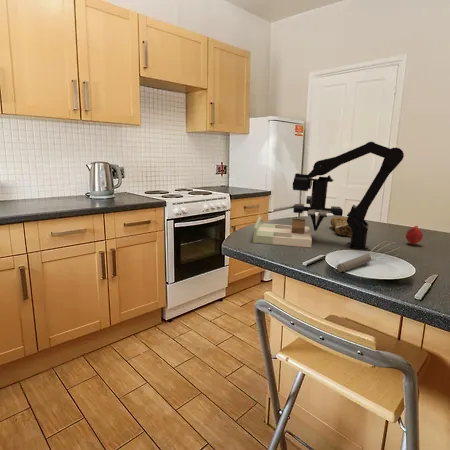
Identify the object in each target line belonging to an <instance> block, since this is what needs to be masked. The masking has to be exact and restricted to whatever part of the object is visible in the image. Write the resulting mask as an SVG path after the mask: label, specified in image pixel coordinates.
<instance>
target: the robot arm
mask: <svg viewBox="0 0 450 450" xmlns="http://www.w3.org/2000/svg"><path fill="white" fill-rule="evenodd" d="M368 154H372V155H375V156H378V157H381V158H383V160H382V163H381V166H380V169H379V170H378V172H377V173H376V175H375V177H374V179H373V181H372V182H371V183H370V185H369V187H368V189H366V192H365V194H363V195H364V196H363V197H362V199H361V200H360V201H359V203H358V204H357V205H356V204H352V206H351V208H350V211H349V212H348V213H347V215H346V217H347V223H348V225H349V226H350V227H351V229H352V232H351V237H350V240H349V241H350V242H349V241H348V242H347V244H348V247H349V248H350V249H360V250H361V249H363V250H369V247H368V246H367V240H368V231H369V227H370V225H369V223H368V222H367V220H365V218H366V216H367V213H368V211H369V209H370V208H369V207H370V206H371V204H372V203H373V201H374V200H375V198H376V197H377V195H378V193H379V192H380V190H381V189H382V187H383V185H384V183H385V182H386V180H387V179H388V177H389V175H390V174H392V172H393V171H394V170H395V169H396V168H397V167H398V166H399V164H400V163H401V162H402V161H403V159H404V157H405V154H404V151H403V149H401V148H400V147H392V148H390V147H386V146H383V145H381V144H378V143H376V142H375V141H368V142H366V143H365V144H363V145H360V146H357V147H355V148H353V149H351V150H348V151H347V152H343V153H342V154H338V155H337V156H334V157H333V156H332V157H328V158H324V159H320V160H317V161H316V162H314V164H313V166H312V167H313V168H312V170H311V171H310V172H308V174H305V173H304V174H302V173H297V172H296V173H295V174H294V178H293V181H292V190H293V191H299V192H308V191H309V190H311V195H307V196H306V201H305V204H306V205H309V206H305V205H304V203H303V204H301V203H295V204H293V213H295V214H302V213H304V212H307V216H308V217H310V219H311V221H312V226H313V231H314V232H317V230H318V229H319V226H320V225H321V223H322V221H323V220H324V218H327V217H328V215H327V214H332V215H333V217H343V211H344V210H343V209H342V207H341V206H335V205H334V206H332V205H331V206H330V207H329V208H328V207H326V201H327V194H328V185H329V183H332V182H334V179H333V178H332V176H331V175H327V174H329V173H330V172H331V171H333V170H335V169H336V168H338V167H339V166H342V165H344V164H346V163H349V162H351V161H354V160H356V159H359V158H361V157H363V156H365V155H368ZM325 175H327V176H325ZM315 177H318V178H315ZM316 213H317V215H316ZM316 216H317V217H316Z"/></svg>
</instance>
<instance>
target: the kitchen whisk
mask: <svg viewBox="0 0 450 450" xmlns="http://www.w3.org/2000/svg"><path fill="white" fill-rule="evenodd" d="M385 242H387V240H385V241H382V242H380V243H378V245H376V246H375V247H373V248H372V251H373V250H375V249H376V248H377V247H378V246H381V245H382V244H384V243H385ZM389 242H390V243H387V244H385V245H384V246H382V247H380V248H379V249H378V250H376V251H375V252H373V253H372V252H368V253H365V254H362V255H360V256H357V257H354V258H352V259H349V260H346V261H343V262H341V263H338V264H337V265H336V266H335V267H334V271H335V272H336V273H337V274H338V273H342V271H344V272H347V271H349V270H351V269H355V268H357V267H359V266H362V265H364V264H365V265H366V264H367V263H371V262H375V260H374V259H375V258H374V257H377V256H381V255H385V254H386V253H388V254H387V256H388V255H390V254H392V252H393V251H396V250H398V251H397V252H400V250H399V248H400V249H401V247H400V246H397V242H396V241H395V242H392V241H390V240H389ZM392 244H393V245H392ZM394 244H395V245H394ZM387 246H391V247H392V250H390V251H388V252H387V251H386V252H383V253H380V254H376V253H378V252H381V251H385V250H386V248H385V247H387ZM391 247H390V248H387V250H389V249H391ZM382 248H385V249H382ZM381 249H382V250H381ZM370 253H371V254H370ZM375 254H376V255H375ZM372 255H373V256H372ZM397 256H398V254H396V255H393V256H389V257H388V259H392V257H393V258H395V257H397ZM384 259H386V257H383V258H381V260H384ZM346 270H347V271H346Z"/></svg>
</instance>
